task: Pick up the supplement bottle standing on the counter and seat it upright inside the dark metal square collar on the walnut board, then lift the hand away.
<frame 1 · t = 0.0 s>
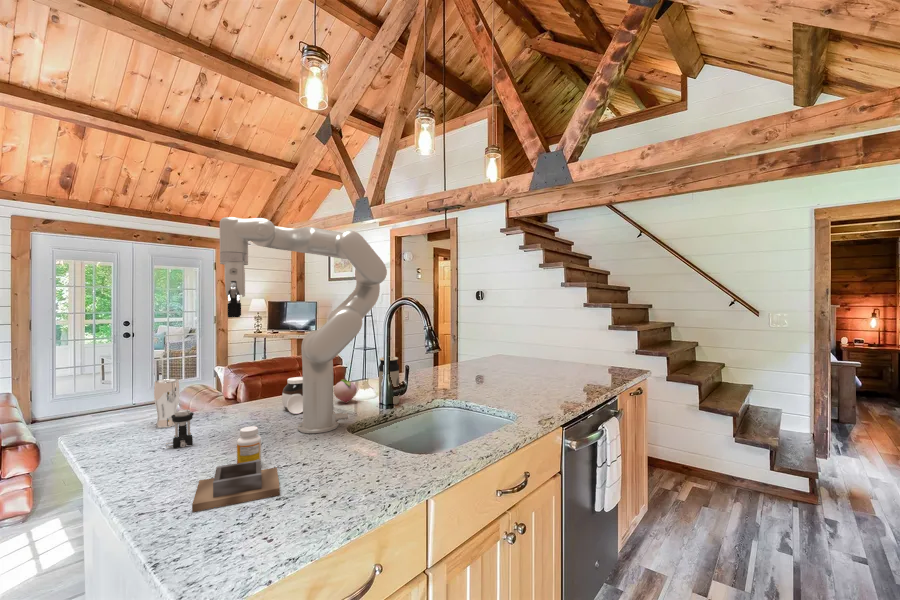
hand: (234, 316, 123), 37 cm above the worktop, tool pointing down, fingers open, 9 cm apart
spread jar: (297, 411, 155), on the worktop
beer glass: (167, 426, 137), on the worktop
decorative fruit: (344, 403, 165), on the worktop
travel mug: (389, 403, 165), on the worktop
supplement bottle: (249, 468, 103), on the worktop
collar board: (238, 490, 90), on the worktop
push button: (180, 447, 118), on the worktop
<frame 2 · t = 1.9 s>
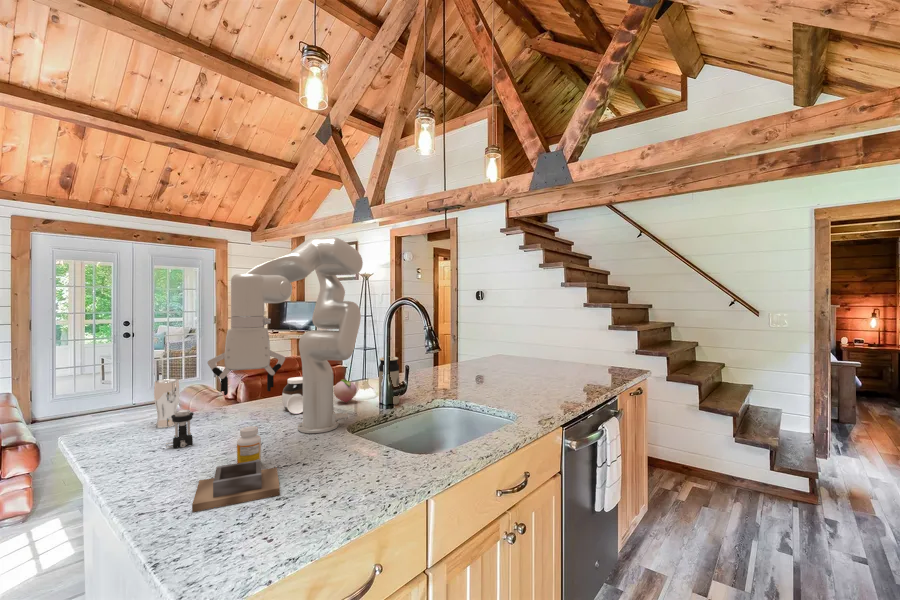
hand: (247, 392, 102), 19 cm above the worktop, tool pointing down, fingers open, 9 cm apart
nothing on the worktop moved.
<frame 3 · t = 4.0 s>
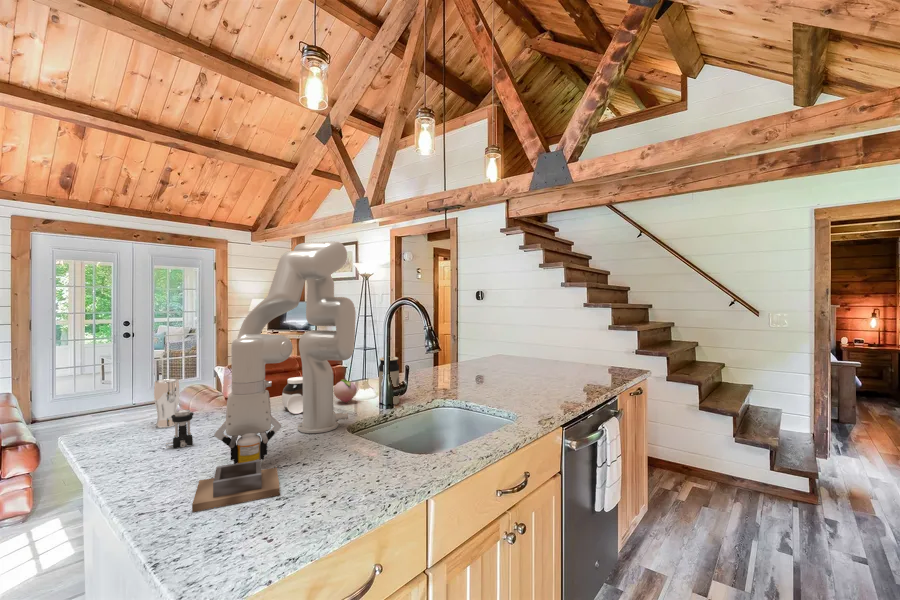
hand: (249, 459, 103), 2 cm above the worktop, tool pointing down, fingers closed on supplement bottle, 5 cm apart
supplement bottle: (249, 468, 103), on the worktop, touching gripper
everything else where it was.
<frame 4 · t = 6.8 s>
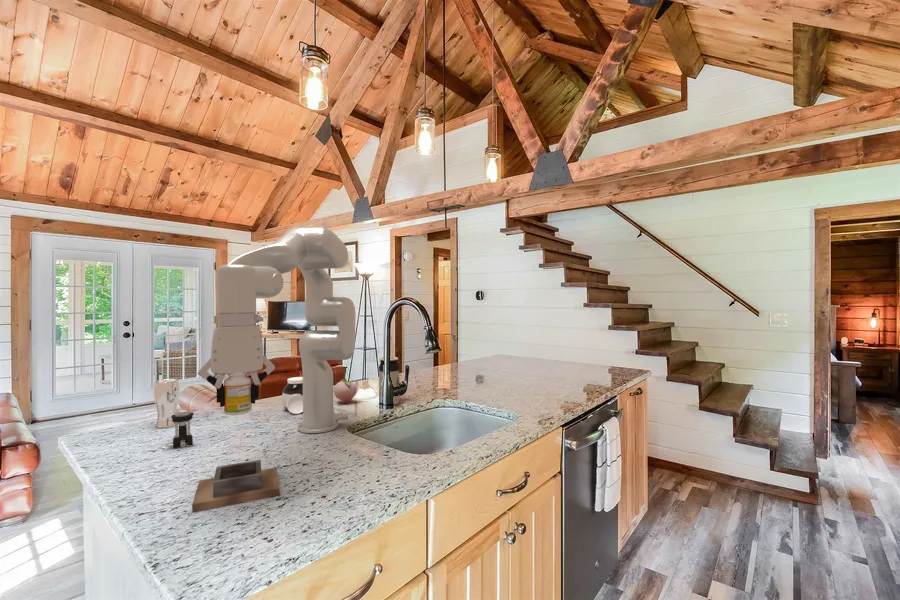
hand: (238, 403, 90), 19 cm above the worktop, tool pointing down, fingers closed on supplement bottle, 5 cm apart
supplement bottle: (238, 413, 90), point 17 cm above the worktop, touching gripper
everything else where it was.
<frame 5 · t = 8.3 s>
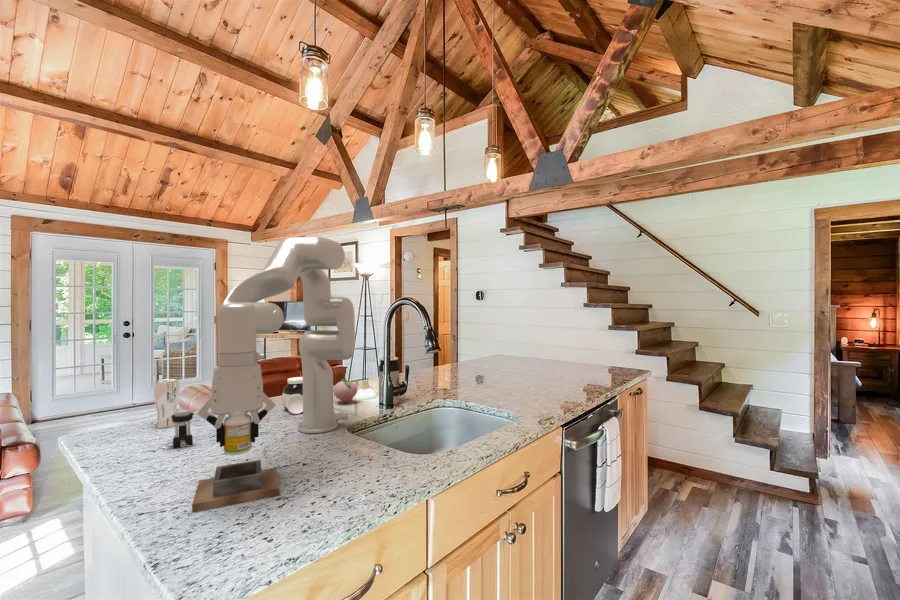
hand: (238, 441, 90), 11 cm above the worktop, tool pointing down, fingers closed on supplement bottle, 5 cm apart
supplement bottle: (238, 452, 90), point 9 cm above the worktop, touching gripper
everything else where it was.
when the fingers open (5 cm above the worktop, at t = 9.8 s): supplement bottle drops 2 cm, resting on collar board.
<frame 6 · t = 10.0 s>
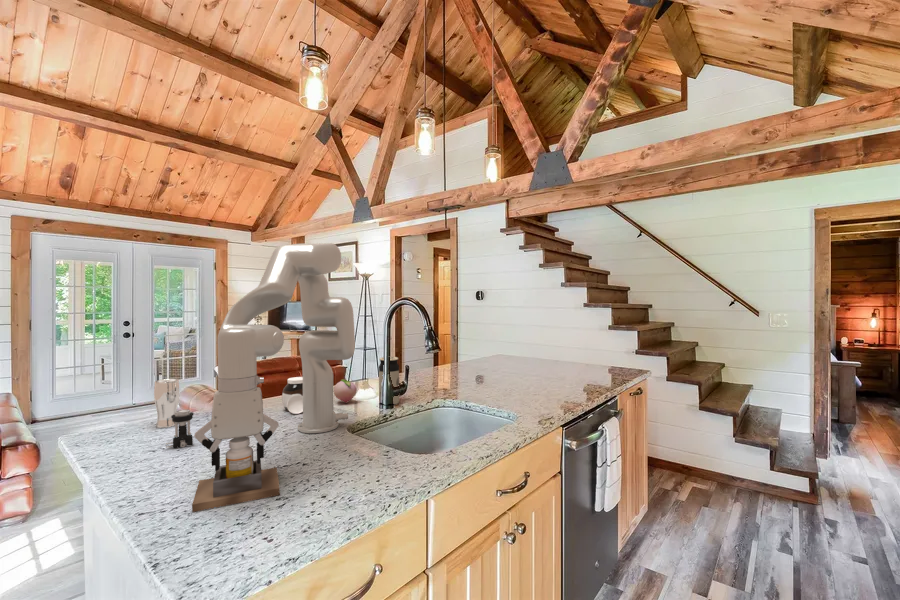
hand: (238, 464, 90), 6 cm above the worktop, tool pointing down, fingers open, 7 cm apart
supplement bottle: (240, 484, 90), point 1 cm above the worktop, touching collar board
everything else where it was.
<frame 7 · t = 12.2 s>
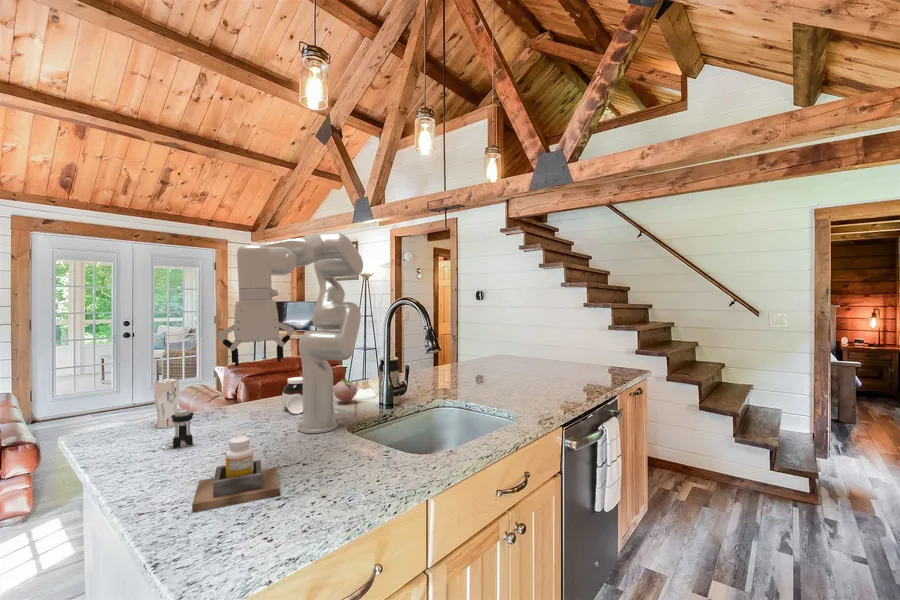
hand: (258, 363, 104), 26 cm above the worktop, tool pointing down, fingers open, 9 cm apart
nothing on the worktop moved.
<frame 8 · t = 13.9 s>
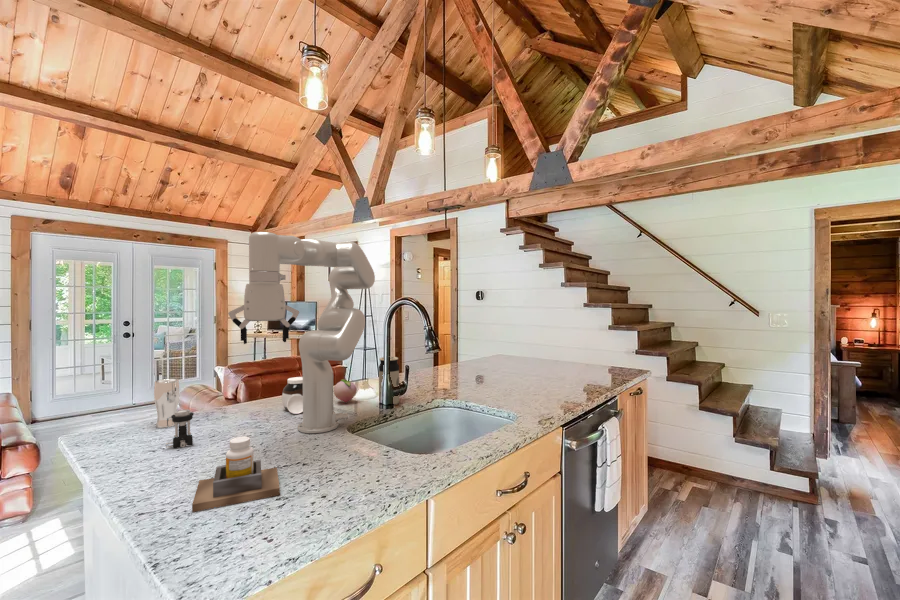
hand: (265, 342, 111), 30 cm above the worktop, tool pointing down, fingers open, 9 cm apart
nothing on the worktop moved.
at the end: supplement bottle 0.4 cm off-centre on the collar board, point 1.3 cm above the collar board's base; supplement bottle tilted 0°; the gripper is holding nothing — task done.
